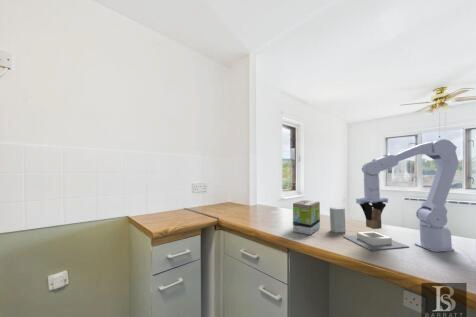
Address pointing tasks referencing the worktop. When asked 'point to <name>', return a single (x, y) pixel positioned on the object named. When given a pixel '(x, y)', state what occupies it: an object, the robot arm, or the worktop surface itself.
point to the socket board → (375, 241)
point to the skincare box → (337, 219)
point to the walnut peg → (374, 219)
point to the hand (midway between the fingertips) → (372, 219)
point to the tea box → (306, 216)
